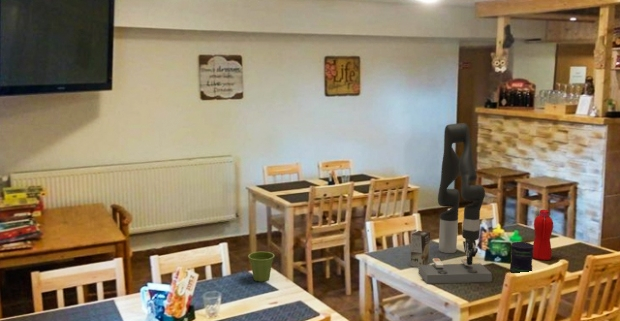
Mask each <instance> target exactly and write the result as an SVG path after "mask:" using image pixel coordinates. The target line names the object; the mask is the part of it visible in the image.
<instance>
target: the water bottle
mask: <svg viewBox="0 0 620 321" xmlns="http://www.w3.org/2000/svg"><path fill="white" fill-rule="evenodd" d="M533 228H534V240H533V243H532V245H533V246H534V248H533V258H532V259H534V260H535V259H536V260H539V261H540V260H542V261H549V260H551V259H552V252H553V251H552V250H553V249H552V246H551V245H552V244H551V237H552V233H553V229H554V222H553V219H552V217H550V210H548V209H540V210H539V215H538V216H536V217H535V218H534V222H533Z"/></svg>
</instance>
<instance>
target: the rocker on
mask: <svg viewBox="0 0 620 321" xmlns="http://www.w3.org/2000/svg"><path fill="white" fill-rule="evenodd" d="M460 262H461V263H464V264H465V265H466V266H469V265H468V264H467V258H461V259H460ZM473 264H474V263H473V262H472V265H473Z"/></svg>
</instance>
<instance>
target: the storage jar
mask: <svg viewBox="0 0 620 321" xmlns="http://www.w3.org/2000/svg"><path fill="white" fill-rule="evenodd" d="M533 248H534V246H533V243H530V242H526V241H514V242H512V243H511V248H510V256H511V258H510V259H511V261H510V265H509V273H510V272H511V273H520V272H529V271H532V272H533V259H534V258H533Z"/></svg>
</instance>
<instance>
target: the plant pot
mask: <svg viewBox="0 0 620 321" xmlns="http://www.w3.org/2000/svg"><path fill="white" fill-rule="evenodd" d="M247 257H248V259H249V262H250V264H251V272H252V277H253V280H254V281H255V282H257V281H258V282H267V281H269V280H270V276H271V271H272V264H273V262H274V258H275V254H274V253H272V252H270V251H254V252H251V253H249V254H248V256H247Z"/></svg>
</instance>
